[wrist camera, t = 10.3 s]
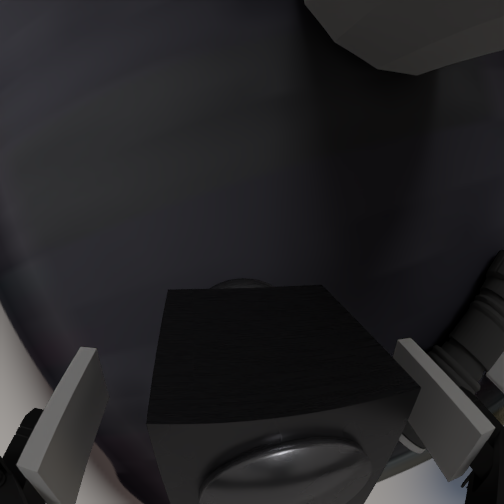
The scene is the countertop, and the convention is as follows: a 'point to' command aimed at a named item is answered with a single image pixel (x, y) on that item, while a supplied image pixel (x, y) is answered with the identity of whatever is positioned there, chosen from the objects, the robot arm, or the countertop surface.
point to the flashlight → (471, 342)
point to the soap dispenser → (497, 373)
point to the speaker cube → (272, 398)
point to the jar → (413, 30)
